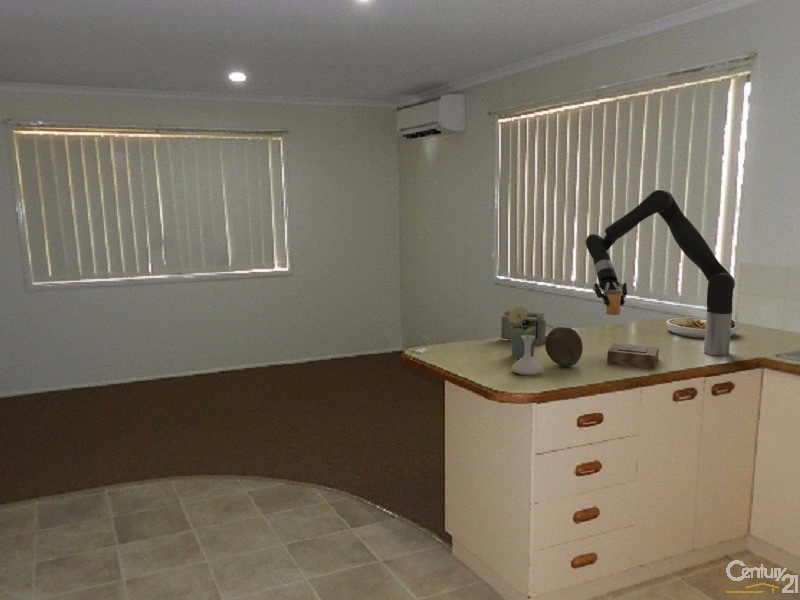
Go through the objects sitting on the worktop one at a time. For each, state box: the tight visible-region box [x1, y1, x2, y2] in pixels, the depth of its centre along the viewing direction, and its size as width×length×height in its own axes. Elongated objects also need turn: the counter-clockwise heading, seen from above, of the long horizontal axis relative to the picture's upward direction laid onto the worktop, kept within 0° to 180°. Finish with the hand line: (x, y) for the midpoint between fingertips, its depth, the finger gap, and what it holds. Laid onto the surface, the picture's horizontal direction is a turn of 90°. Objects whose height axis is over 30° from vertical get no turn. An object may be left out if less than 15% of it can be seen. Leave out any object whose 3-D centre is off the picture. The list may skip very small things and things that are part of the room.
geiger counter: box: [500, 309, 555, 345], centre depth 280 cm, size 14×6×25 cm
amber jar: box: [605, 289, 622, 316], centre depth 260 cm, size 6×6×10 cm
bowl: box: [666, 317, 738, 339], centre depth 298 cm, size 30×30×8 cm
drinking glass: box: [510, 326, 536, 359], centre depth 253 cm, size 10×10×12 cm
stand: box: [606, 342, 660, 370], centre depth 245 cm, size 17×16×5 cm
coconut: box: [544, 326, 584, 368], centre depth 238 cm, size 14×14×15 cm
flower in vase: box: [508, 305, 544, 376], centre depth 226 cm, size 13×11×25 cm
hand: (615, 304), depth 259 cm, fingers closed on amber jar, 5 cm apart
